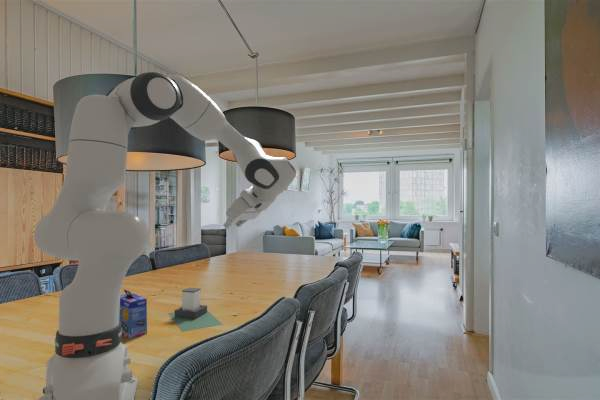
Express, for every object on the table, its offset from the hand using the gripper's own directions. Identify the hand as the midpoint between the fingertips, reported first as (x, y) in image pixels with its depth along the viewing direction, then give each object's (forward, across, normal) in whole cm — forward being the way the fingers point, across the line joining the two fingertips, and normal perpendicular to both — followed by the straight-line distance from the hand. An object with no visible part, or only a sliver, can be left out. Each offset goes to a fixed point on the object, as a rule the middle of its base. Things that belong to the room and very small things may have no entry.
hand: (231, 226), depth 120 cm
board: (+32, +3, +15) cm, 35 cm away
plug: (+33, 0, +12) cm, 35 cm away
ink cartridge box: (+40, +20, +7) cm, 45 cm away
